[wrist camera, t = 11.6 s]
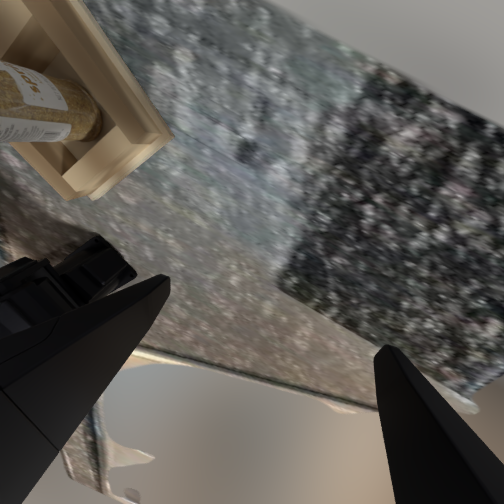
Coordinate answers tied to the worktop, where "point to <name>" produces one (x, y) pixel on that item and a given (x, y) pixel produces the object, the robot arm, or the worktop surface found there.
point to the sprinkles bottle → (44, 108)
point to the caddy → (92, 80)
